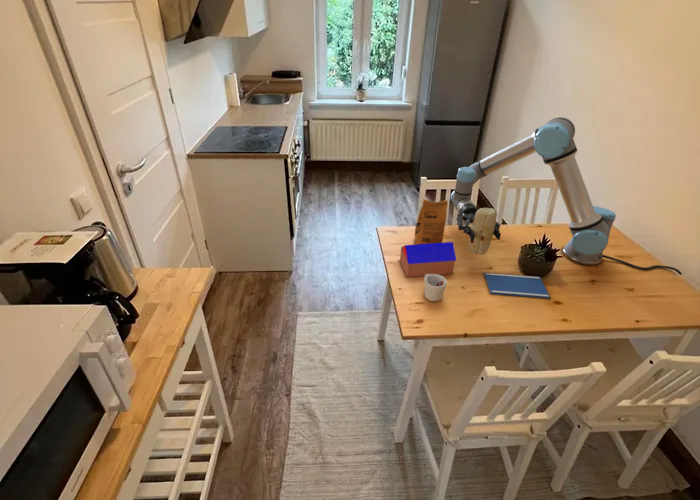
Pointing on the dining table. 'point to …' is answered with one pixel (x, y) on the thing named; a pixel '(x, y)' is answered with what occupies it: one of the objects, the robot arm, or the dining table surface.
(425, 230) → the coffee package
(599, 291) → the dining table surface
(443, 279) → the cup
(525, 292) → the towel
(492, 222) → the food model
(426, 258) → the house
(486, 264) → the dining table surface
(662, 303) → the dining table surface
